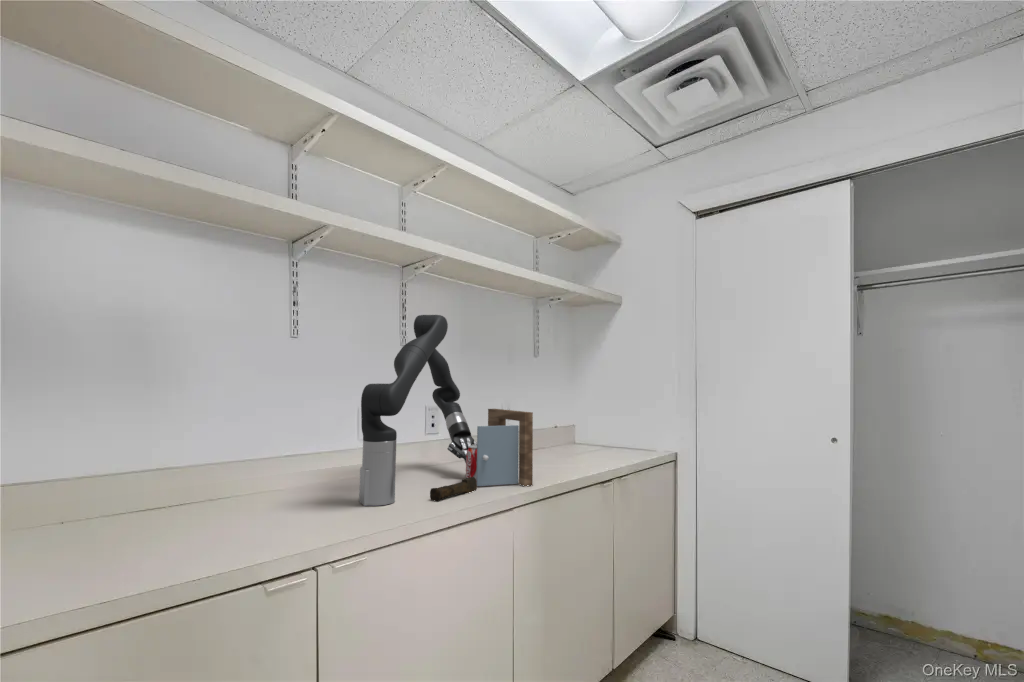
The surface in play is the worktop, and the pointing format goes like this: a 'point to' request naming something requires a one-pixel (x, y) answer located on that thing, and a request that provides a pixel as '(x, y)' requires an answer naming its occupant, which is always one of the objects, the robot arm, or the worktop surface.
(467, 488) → the wooden log
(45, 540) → the worktop surface
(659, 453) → the worktop surface
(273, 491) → the worktop surface
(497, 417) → the door frame
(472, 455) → the soda can
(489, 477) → the door
